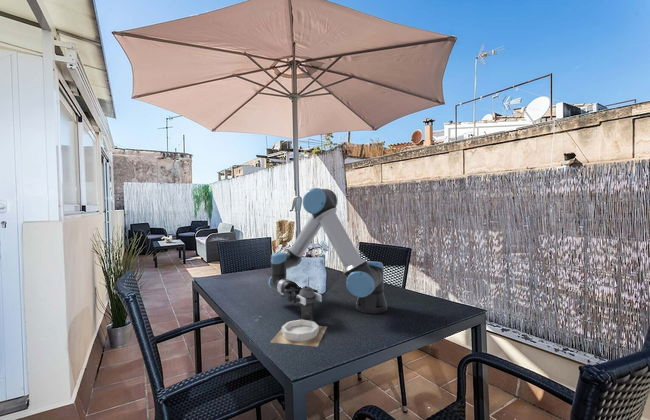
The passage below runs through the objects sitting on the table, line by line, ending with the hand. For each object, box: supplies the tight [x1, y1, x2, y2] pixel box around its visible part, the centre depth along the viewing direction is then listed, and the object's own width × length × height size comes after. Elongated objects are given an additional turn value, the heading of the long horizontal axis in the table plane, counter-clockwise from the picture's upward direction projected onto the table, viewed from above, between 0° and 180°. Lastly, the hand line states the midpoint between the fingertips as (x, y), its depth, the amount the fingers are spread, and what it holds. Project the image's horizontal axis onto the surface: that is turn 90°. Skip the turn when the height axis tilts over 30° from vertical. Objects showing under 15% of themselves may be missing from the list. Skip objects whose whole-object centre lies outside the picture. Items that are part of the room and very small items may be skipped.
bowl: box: [281, 319, 320, 342], centre depth 121 cm, size 14×14×3 cm
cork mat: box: [269, 325, 328, 348], centre depth 121 cm, size 18×18×1 cm
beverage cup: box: [299, 276, 315, 321], centre depth 134 cm, size 7×7×20 cm
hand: (313, 300), depth 130 cm, fingers closed on beverage cup, 7 cm apart
